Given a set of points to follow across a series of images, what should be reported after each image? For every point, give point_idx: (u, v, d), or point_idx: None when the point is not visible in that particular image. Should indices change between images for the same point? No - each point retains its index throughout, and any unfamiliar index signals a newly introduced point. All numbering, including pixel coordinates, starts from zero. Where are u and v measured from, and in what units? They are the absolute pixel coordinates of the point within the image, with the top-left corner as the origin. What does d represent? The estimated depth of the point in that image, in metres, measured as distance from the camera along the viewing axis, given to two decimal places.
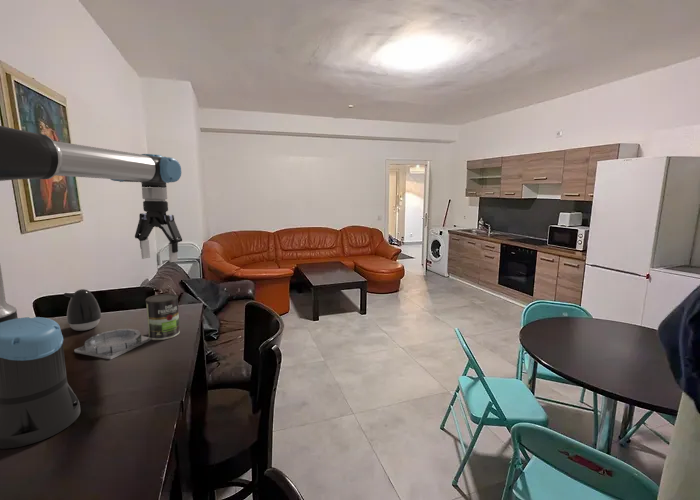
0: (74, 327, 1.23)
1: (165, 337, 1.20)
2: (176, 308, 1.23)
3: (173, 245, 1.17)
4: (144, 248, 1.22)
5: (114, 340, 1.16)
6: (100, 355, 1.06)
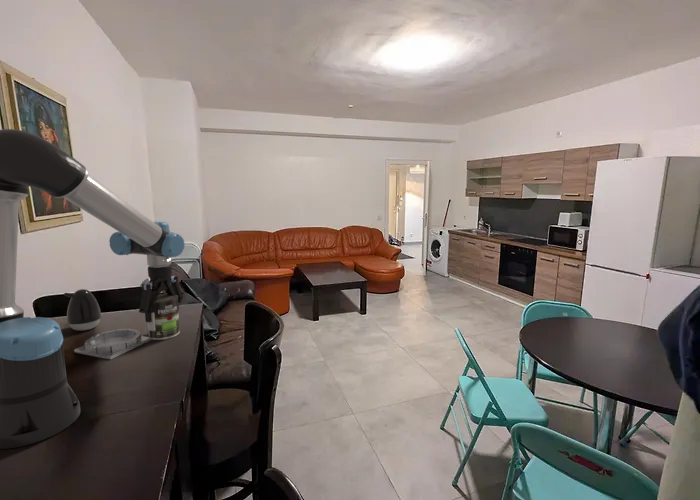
0: (74, 327, 1.23)
1: (165, 337, 1.20)
2: (176, 308, 1.23)
3: None
4: None
5: (114, 340, 1.16)
6: (100, 355, 1.06)
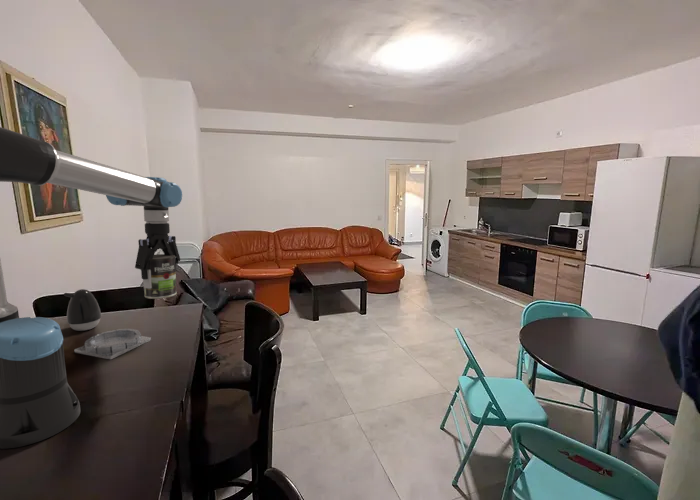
0: (74, 327, 1.23)
1: (162, 296, 1.17)
2: (173, 267, 1.20)
3: None
4: None
5: (114, 340, 1.16)
6: (100, 355, 1.06)
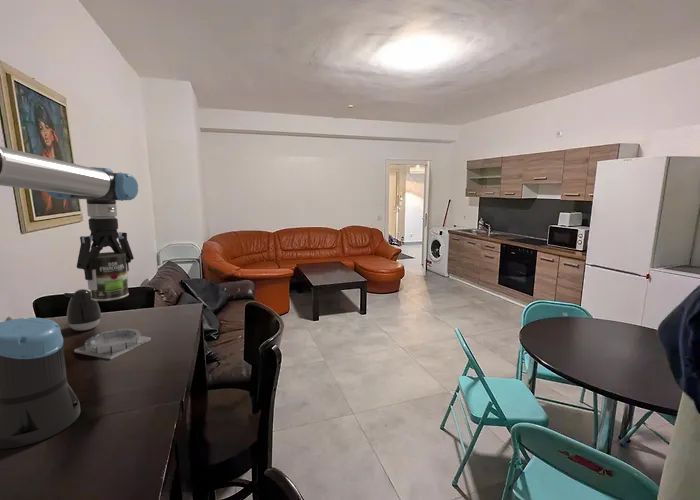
0: (74, 327, 1.23)
1: (109, 298, 1.07)
2: (123, 266, 1.10)
3: None
4: None
5: (114, 340, 1.16)
6: (100, 355, 1.06)
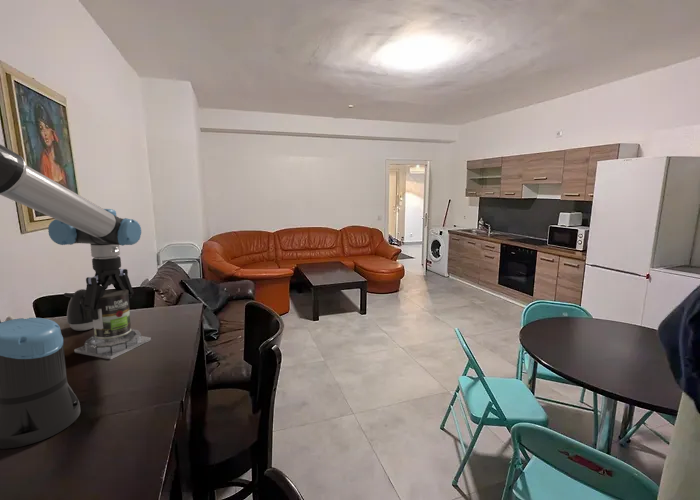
0: (74, 327, 1.23)
1: (115, 335, 1.09)
2: (127, 303, 1.12)
3: None
4: None
5: (114, 340, 1.16)
6: (100, 355, 1.06)
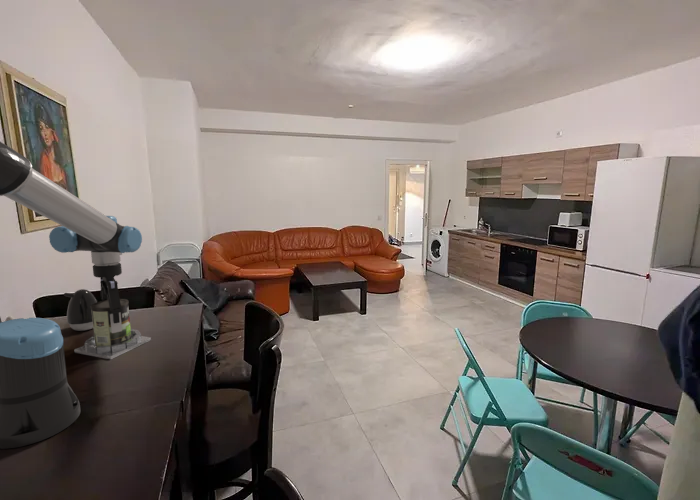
0: (74, 327, 1.23)
1: None
2: None
3: (113, 316, 1.06)
4: None
5: None
6: (100, 355, 1.06)
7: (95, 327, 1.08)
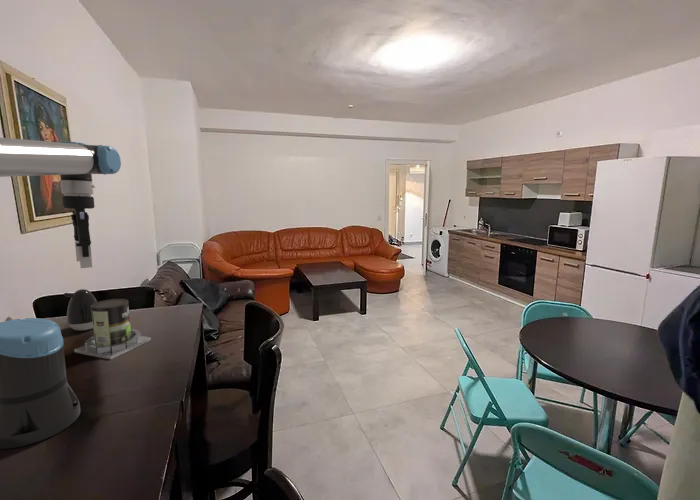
0: (74, 327, 1.23)
1: None
2: None
3: (82, 249, 0.98)
4: (78, 250, 1.09)
5: None
6: (100, 355, 1.06)
7: (95, 327, 1.08)
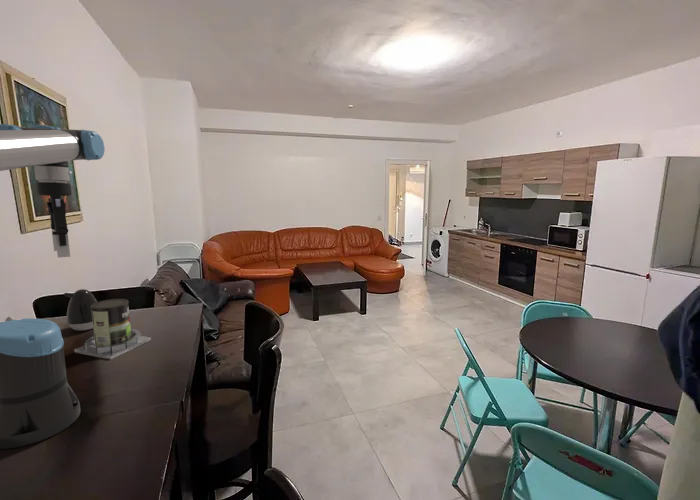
0: (74, 327, 1.23)
1: None
2: None
3: (59, 237, 0.95)
4: (56, 239, 1.05)
5: None
6: (100, 355, 1.06)
7: (95, 327, 1.08)
